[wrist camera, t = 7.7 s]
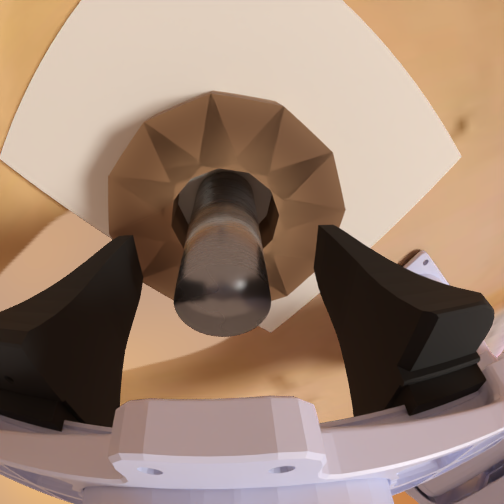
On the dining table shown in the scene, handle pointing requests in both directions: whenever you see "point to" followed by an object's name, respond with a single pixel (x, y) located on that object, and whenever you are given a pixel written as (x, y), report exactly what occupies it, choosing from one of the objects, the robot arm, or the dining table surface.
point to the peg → (223, 261)
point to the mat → (231, 81)
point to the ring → (231, 158)
